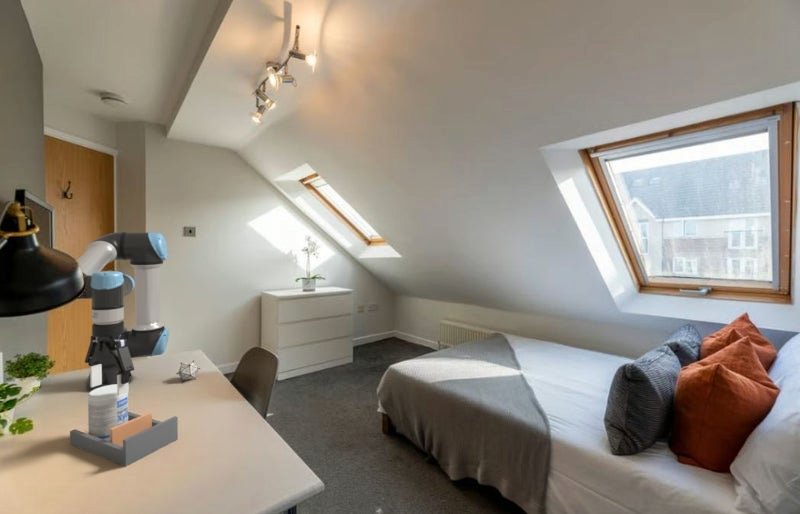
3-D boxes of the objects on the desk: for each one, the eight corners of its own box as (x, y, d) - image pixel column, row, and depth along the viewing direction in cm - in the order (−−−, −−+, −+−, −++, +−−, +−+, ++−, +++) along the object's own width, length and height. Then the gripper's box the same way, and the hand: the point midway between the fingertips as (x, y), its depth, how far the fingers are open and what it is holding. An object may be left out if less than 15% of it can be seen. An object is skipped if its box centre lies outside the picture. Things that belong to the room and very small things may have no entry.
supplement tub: (126, 439, 107) (126, 391, 107) (85, 448, 102) (85, 398, 101) (129, 425, 115) (129, 381, 115) (91, 433, 110) (91, 387, 109)
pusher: (110, 453, 99) (109, 428, 99) (149, 434, 109) (149, 412, 109) (119, 456, 98) (119, 432, 98) (158, 437, 108) (158, 415, 108)
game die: (182, 389, 153) (167, 372, 152) (198, 376, 161) (183, 359, 159) (193, 383, 149) (177, 365, 148) (208, 369, 157) (193, 352, 155)
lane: (70, 444, 104) (69, 421, 103) (123, 422, 117) (123, 401, 117) (125, 466, 94) (125, 440, 94) (177, 439, 107) (177, 416, 107)
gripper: (69, 319, 108) (71, 386, 109) (120, 329, 99) (121, 402, 100) (98, 315, 115) (99, 378, 116) (147, 323, 106) (148, 392, 107)
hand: (109, 389), depth 108 cm, fingers open, 13 cm apart
